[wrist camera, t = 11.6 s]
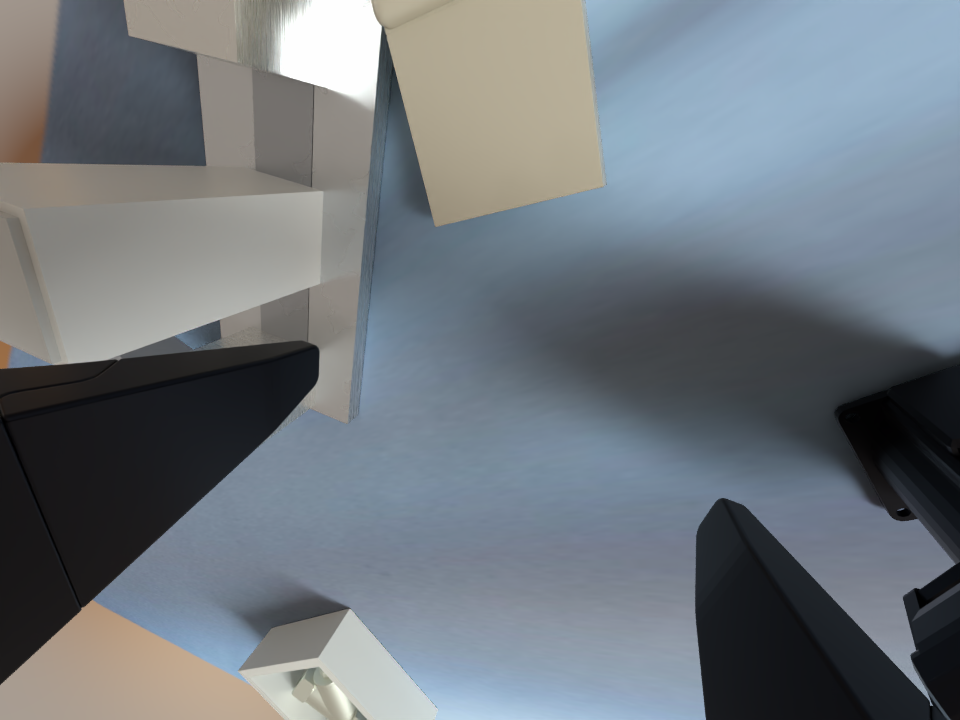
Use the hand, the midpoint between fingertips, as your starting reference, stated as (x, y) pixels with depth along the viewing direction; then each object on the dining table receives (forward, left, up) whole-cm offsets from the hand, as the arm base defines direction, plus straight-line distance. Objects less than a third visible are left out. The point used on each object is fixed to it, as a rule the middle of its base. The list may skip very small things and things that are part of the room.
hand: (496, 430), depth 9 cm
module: (+11, +11, -12) cm, 20 cm away
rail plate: (+11, +11, -13) cm, 21 cm away
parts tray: (-22, +40, -13) cm, 47 cm away
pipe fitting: (-23, +41, -14) cm, 49 cm away
